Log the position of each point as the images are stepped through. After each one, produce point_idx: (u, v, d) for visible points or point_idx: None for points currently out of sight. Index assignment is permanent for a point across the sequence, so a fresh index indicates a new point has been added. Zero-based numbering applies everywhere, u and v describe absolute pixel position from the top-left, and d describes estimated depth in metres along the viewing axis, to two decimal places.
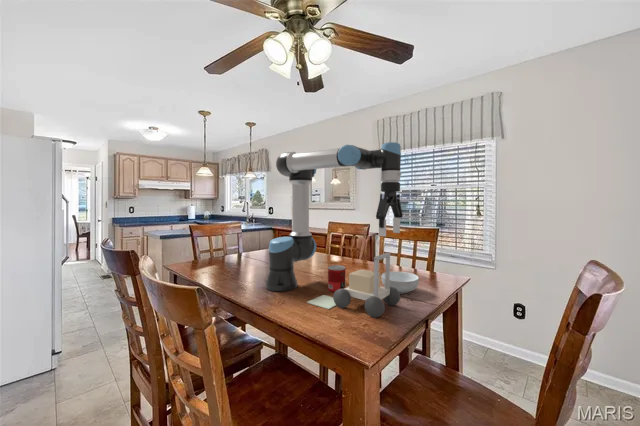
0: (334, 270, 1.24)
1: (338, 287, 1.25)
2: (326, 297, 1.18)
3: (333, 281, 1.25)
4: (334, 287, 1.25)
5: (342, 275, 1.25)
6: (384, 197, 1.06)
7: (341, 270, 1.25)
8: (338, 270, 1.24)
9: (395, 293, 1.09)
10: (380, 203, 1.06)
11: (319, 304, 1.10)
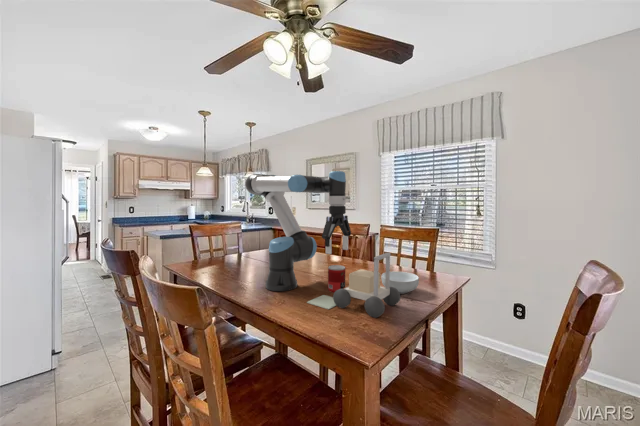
0: (334, 270, 1.24)
1: (338, 287, 1.25)
2: (326, 297, 1.18)
3: (333, 281, 1.25)
4: (334, 287, 1.25)
5: (342, 275, 1.25)
6: (329, 220, 1.21)
7: (341, 270, 1.25)
8: (338, 270, 1.24)
9: (395, 293, 1.09)
10: (326, 225, 1.21)
11: (319, 304, 1.10)
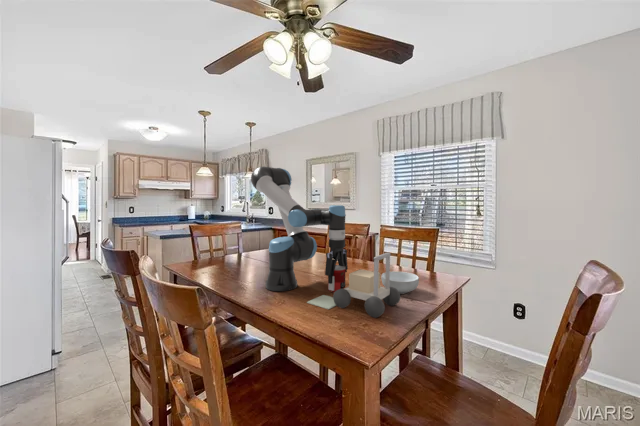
0: (334, 270, 1.24)
1: (338, 287, 1.25)
2: (326, 297, 1.18)
3: None
4: (334, 287, 1.25)
5: (342, 275, 1.25)
6: (329, 257, 1.22)
7: (341, 270, 1.25)
8: (338, 270, 1.24)
9: (395, 293, 1.09)
10: (327, 262, 1.23)
11: (319, 304, 1.10)
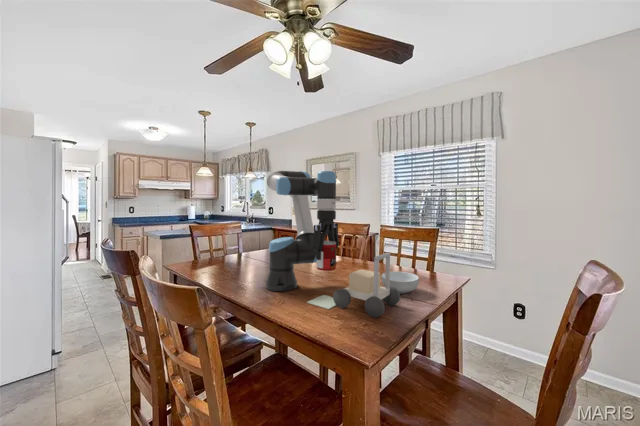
0: (323, 245, 1.09)
1: (328, 264, 1.09)
2: (326, 297, 1.18)
3: None
4: (323, 265, 1.09)
5: (332, 250, 1.10)
6: (317, 229, 1.07)
7: (331, 245, 1.09)
8: (328, 245, 1.09)
9: (395, 293, 1.09)
10: (314, 235, 1.07)
11: (319, 304, 1.10)
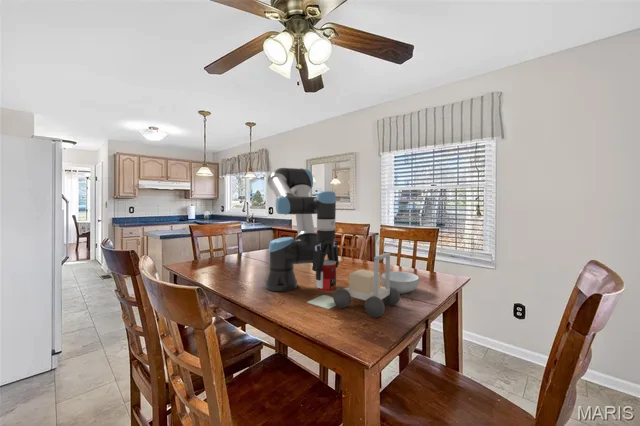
0: (323, 265, 1.09)
1: (328, 285, 1.09)
2: (326, 297, 1.18)
3: None
4: (323, 285, 1.09)
5: (332, 270, 1.10)
6: (317, 250, 1.07)
7: (331, 265, 1.09)
8: (327, 265, 1.09)
9: (395, 293, 1.09)
10: (314, 256, 1.08)
11: (319, 304, 1.10)
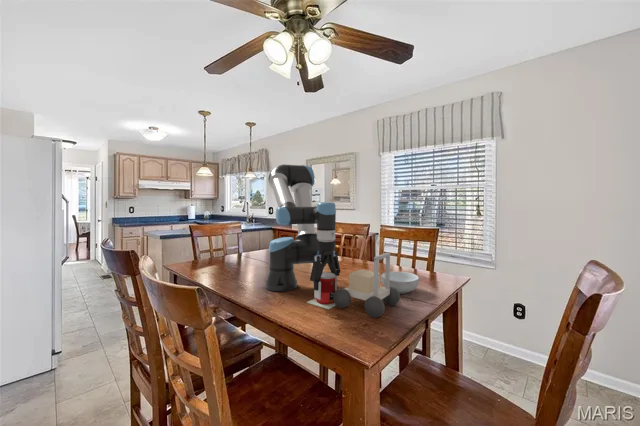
0: (322, 279, 1.09)
1: (327, 298, 1.10)
2: None
3: (322, 291, 1.10)
4: (322, 298, 1.10)
5: (332, 284, 1.10)
6: (316, 260, 1.07)
7: (330, 279, 1.10)
8: (327, 279, 1.09)
9: (395, 293, 1.09)
10: (313, 266, 1.07)
11: (319, 304, 1.10)
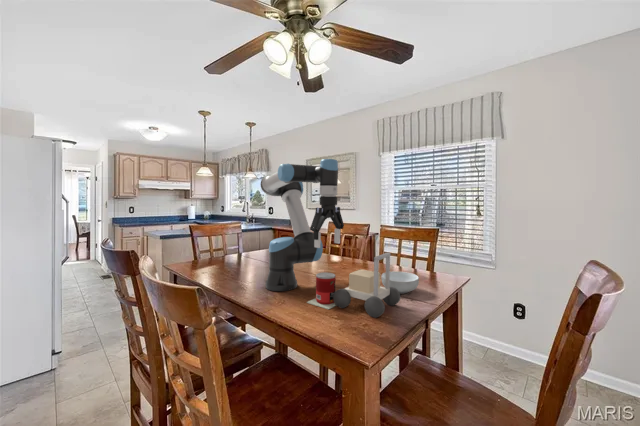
0: (322, 278, 1.09)
1: (327, 298, 1.10)
2: None
3: (321, 291, 1.10)
4: (322, 298, 1.10)
5: (332, 284, 1.10)
6: (318, 211, 1.13)
7: (330, 278, 1.10)
8: (327, 279, 1.09)
9: (395, 293, 1.09)
10: (315, 217, 1.13)
11: (319, 304, 1.10)
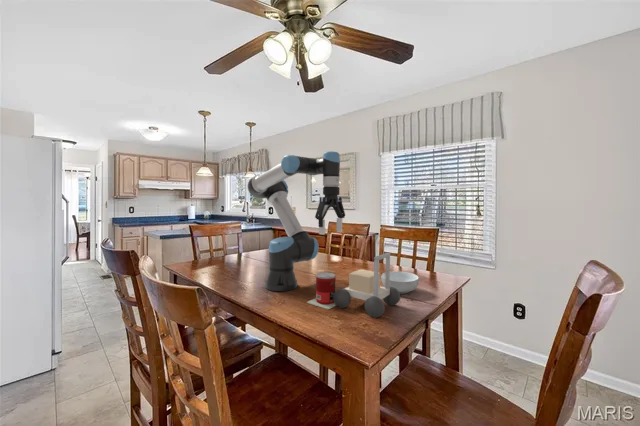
0: (322, 279, 1.09)
1: (327, 298, 1.10)
2: None
3: (321, 291, 1.10)
4: (322, 298, 1.10)
5: (332, 284, 1.10)
6: (323, 200, 1.20)
7: (330, 278, 1.10)
8: (327, 279, 1.09)
9: (395, 293, 1.09)
10: (319, 205, 1.20)
11: (319, 304, 1.10)
